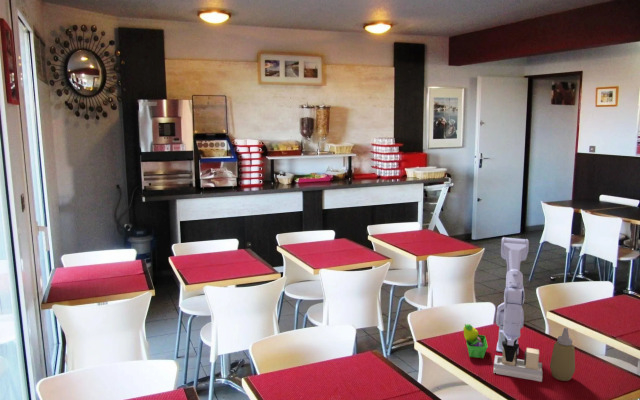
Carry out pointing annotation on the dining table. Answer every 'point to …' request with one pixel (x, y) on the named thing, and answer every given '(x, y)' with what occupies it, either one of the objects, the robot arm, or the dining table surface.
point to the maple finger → (507, 361)
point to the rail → (521, 366)
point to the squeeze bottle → (563, 358)
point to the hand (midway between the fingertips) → (509, 356)
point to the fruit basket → (475, 342)
